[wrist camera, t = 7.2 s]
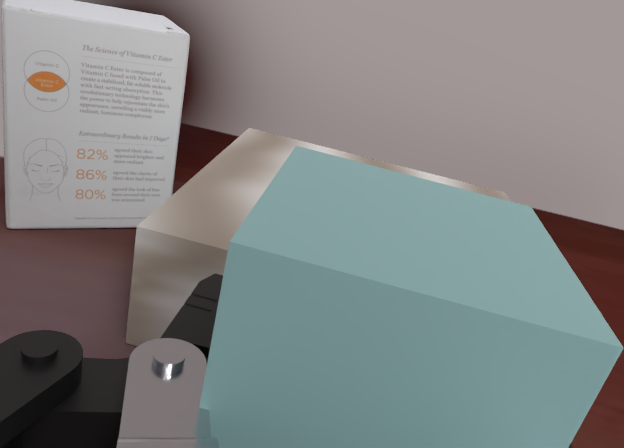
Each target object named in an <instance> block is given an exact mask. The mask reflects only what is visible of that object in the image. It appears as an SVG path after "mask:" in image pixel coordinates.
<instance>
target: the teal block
mask: <svg viewBox="0 0 624 448" xmlns="http://www.w3.org/2000/svg"><path fill="white" fill-rule="evenodd" d="M622 350H623V346H622V345H621V343H620V342H619V340H618V339H617V337H616V336H615V334H614V333H613V331H612V330H611V328H610V327H609V325H608V324H607V322H606V321H605V319H604V317H603V316H602V314H601V313H600V311H599V310H598V308H597V307H596V305H595V304H594V302H593V301H592V299H591V298H590V296H589V295H588V293H587V292H586V290H585V289H584V287H583V285H582V284H581V282H580V281H579V279H578V278H577V276H576V275H575V273H574V272H573V270H572V269H571V267H570V266H569V264H568V263H567V261H566V260H565V258H564V257H563V255H562V254H561V252H560V250H559V249H558V247H557V246H556V244H555V243H554V241H553V240H552V238H551V237H550V235H549V234H548V232H547V231H546V229H545V228H544V226H543V225H542V223H541V222H540V220H539V218H538V217H537V215H536V214H535V212H534V211H533V209H532V208H531V207H530V206H526V205H522V204H518V203H514V202H510V201H507V200H503V199H499V198H495V197H491V196H487V195H483V194H480V193H476V192H472V191H468V190H464V189H460V188H457V187H453V186H449V185H445V184H441V183H437V182H434V181H430V180H426V179H422V178H418V177H414V176H411V175H407V174H403V173H399V172H395V171H391V170H388V169H384V168H380V167H376V166H372V165H368V164H365V163H361V162H357V161H353V160H349V159H345V158H342V157H338V156H334V155H330V154H326V153H322V152H319V151H315V150H311V149H307V148H303V147H299V146H296V147H295V148H294V150H293V151H292V152H291V154H290V155H289V157H288V158H287V160H286V161H285V162H284V164H283V165H282V167H281V168H280V170H279V171H278V173H277V174H276V175H275V177H274V178H273V180H272V181H271V183H270V184H269V185H268V187H267V188H266V190H265V191H264V193H263V194H262V196H261V197H260V198H259V200H258V201H257V203H256V204H255V206H254V207H253V208H252V210H251V211H250V213H249V214H248V216H247V217H246V219H245V220H244V221H243V223H242V224H241V226H240V227H239V229H238V230H237V231H236V233H235V234H234V236H233V237H232V239H231V240H230V242H229V247H228V253H227V258H226V264H225V269H224V275H223V280H222V285H221V291H220V296H219V302H218V307H217V313H216V318H215V324H214V329H213V335H212V340H211V346H210V351H209V357H208V362H207V368H206V373H205V379H204V384H203V390H202V395H201V401H200V406H199V407H200V408H203V409H207V410H209V415H210V434H211V437H216V438H217V440H218V445H219V448H568V447H569V445H570V444H571V442H572V440H573V438H574V436H575V435H576V433H577V431H578V429H579V427H580V426H581V424H582V422H583V420H584V418H585V417H586V415H587V413H588V411H589V409H590V408H591V406H592V404H593V402H594V400H595V399H596V397H597V395H598V393H599V391H600V390H601V388H602V386H603V384H604V382H605V380H606V379H607V377H608V375H609V373H610V371H611V370H612V368H613V366H614V364H615V362H616V361H617V359H618V357H619V355H620V353H621V352H622Z"/></svg>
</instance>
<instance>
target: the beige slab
mask: <svg viewBox="0 0 624 448" xmlns="http://www.w3.org/2000/svg"><path fill="white" fill-rule="evenodd" d="M296 146H299V147H303V148H307V149H311V150H315V151H319V152H322V153H326V154H330V155H334V156H338V157H342V158H345V159H349V160H353V161H357V162H361V163H365V164H368V165H372V166H376V167H380V168H384V169H388V170H391V171H395V172H399V173H403V174H407V175H411V176H414V177H418V178H422V179H426V180H430V181H434V182H437V183H441V184H445V185H449V186H453V187H457V188H460V189H464V190H468V191H472V192H476V193H480V194H483V195H487V196H491V197H495V198H499V199H503V200H507V201H510V200H509V198H508V196H507V194H506V193H505V192H500V191H497V190H493V189H489V188H485V187H481V186H477V185H473V184H469V183H465V182H461V181H457V180H454V179H450V178H446V177H442V176H437V175H433V174H429V173H426V172H422V171H418V170H414V169H410V168H406V167H402V166H398V165H394V164H390V163H386V162H382V161H378V160H374V159H370V158H366V157H363V156H359V155H355V154H351V153H346V152H342V151H339V150H335V149H331V148H327V147H323V146H319V145H315V144H311V143H307V142H303V141H299V140H295V139H291V138H287V137H283V136H279V135H275V134H271V133H268V132H263V131H259V130H256V129H252V128H249V129H248V130H247V131H245V132H244V133H243V134H242V135H241V136H239V137H238V138H237V139H236V140H235V141H234V142H233V143H231V144H230V145H229V146H228V147H227V148H226V149H225V150H223V151H222V152H221V153H220V154H219V155H218V156H217V157H215V158H214V159H213V160H212V161H211V162H210V163H209V164H207V165H206V166H205V167H204V168H203V169H202V170H201V171H199V172H198V173H197V174H196V175H195V176H194V177H193V178H191V179H190V180H189V181H188V182H187V183H186V184H185V185H183V186H182V187H181V188H180V189H179V190H178V191H177V192H175V193H174V194H173V195H172V196H171V197H170V198H169V199H167V200H166V201H165V202H164V203H163V204H162V205H161V206H159V207H158V208H157V209H156V210H155V211H154V212H153V213H151V214H150V215H149V216H148V217H147V218H146V219H145V220H143V221H142V222H141V223H140V224H139V225H138V226H137V230H136V240H135V250H134V260H133V270H132V281H131V291H130V301H129V311H128V321H127V332H126V342H125V343H127V344H131V345H135V346H139V345H141V344H142V343H144V342H147V341H150V340H153V339H159V338H161V336H162V335H163V333H164V332H165V330H166V329H167V327H168V326H169V325H170V323H171V322H172V320H173V319H174V317H175V316H176V315H177V313H178V312H179V310H180V309H181V307H182V306H184V303H185V302H186V300H187V299H188V297H189V296H191V293H192V292H193V290H194V289H195V287H196V286H197V284H198V283H199V281H201V280H203V279H205V278H207V277H209V276H211V275H213V274H215V273H216V274H219V275H224V269H225V264H226V258H227V253H228V247H229V242H230V240H231V239H232V237H233V236H234V234H235V233H236V231H237V230H238V229H239V227H240V226H241V224H242V223H243V221H244V220H245V219H246V217H247V216H248V214H249V213H250V211H251V210H252V208H253V207H254V206H255V204H256V203H257V201H258V200H259V198H260V197H261V196H262V194H263V193H264V191H265V190H266V188H267V187H268V185H269V184H270V183H271V181H272V180H273V178H274V177H275V175H276V174H277V173H278V171H279V170H280V168H281V167H282V165H283V164H284V162H285V161H286V160H287V158H288V157H289V155H290V154H291V152H292V151H293V150H294V148H295V147H296ZM510 202H511V201H510Z"/></svg>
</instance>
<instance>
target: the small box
mask: <svg viewBox="0 0 624 448" xmlns="http://www.w3.org/2000/svg"><path fill="white" fill-rule="evenodd" d="M1 21H2V67H3V68H2V69H3V117H4V118H3V119H4V169H5V208H6V226H7V228H9V229H66V228H137V226H138V225H139V224H140V223H141V222H142V221H143V220H145V219H146V218H147V217H148V216H149V215H150V214H151V213H153V212H154V211H155V210H156V209H157V208H158V207H159V206H161V205H162V204H163V203H164V202H165V201H166V200H167V199H169V198H170V197H171V196H172V192H173V183H174V174H175V165H176V155H177V146H178V138H179V129H180V122H181V112H182V104H183V95H184V88H185V79H186V70H187V61H188V53H189V42H190V37H189V34H188V33H186V32H185V31H183V30H182V29H181V28H180V27H178V26H177V25H176V24H174V23H173V22H171V21H170V20H169V19H167V18H166V17H164V16H162V15H156V14H149V13H144V12H138V11H132V10H126V9H120V8H115V7H109V6H103V5H97V4H91V3H85V2H79V1H73V0H3V1H2V9H1Z"/></svg>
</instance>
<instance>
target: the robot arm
mask: <svg viewBox="0 0 624 448" xmlns="http://www.w3.org/2000/svg"><path fill="white" fill-rule="evenodd" d="M222 280H223V275H219V274H216V273H215V274H213V275H211V276H209V277H207V278H205V279H203V280H201V281H199V283H198V284H197V286H196V287H195V289H194V290H193V292H192V293H191V296H189V297H188V299H187V300H186V302H185V303H184V306H182V307H181V309H180V310H179V312H178V313H177V315H176V316H175V317H174V319H173V320H172V322H171V323H170V325H169V326H168V327H167V329H166V330H165V332H164V333H163V335H162V336H161V338H159V339H153V340H150V341H147V342H144V343H142V344H141V345H139V346H138V347H136V348H135V349H134V350H133V352H132V353H131V355H130V357H129V358H124V359H94V358H83V349H82V347H81V345H80V343H79V342H78V341H77V340H76V339H75V338H73V337H72V336H70V335H67V334H65V333H62V332H58V331H51V330H39V331H31V332H26V333H22V334H19V335H16V336H14V337H12V338H10V339H8V340H6V341H5V342H3V343H1V344H0V448H219V445H218V440H217V438H216V437H211V434H210V415H209V410H207V409H203V408H200V407H199V406H200V401H201V395H202V390H203V384H204V379H205V373H206V368H207V362H208V357H209V351H210V346H211V340H212V335H213V329H214V324H215V318H216V313H217V307H218V302H219V296H220V291H221V285H222ZM568 448H572V445H571V444H570V445H569V447H568Z"/></svg>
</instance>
